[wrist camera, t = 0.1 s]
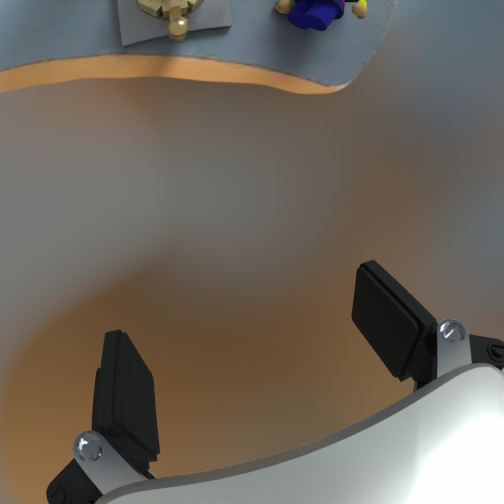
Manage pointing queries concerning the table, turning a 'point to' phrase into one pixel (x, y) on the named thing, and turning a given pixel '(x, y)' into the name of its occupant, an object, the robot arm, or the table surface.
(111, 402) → the robot arm
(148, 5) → the ring nut
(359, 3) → the toy
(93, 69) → the table surface
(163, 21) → the base plate
